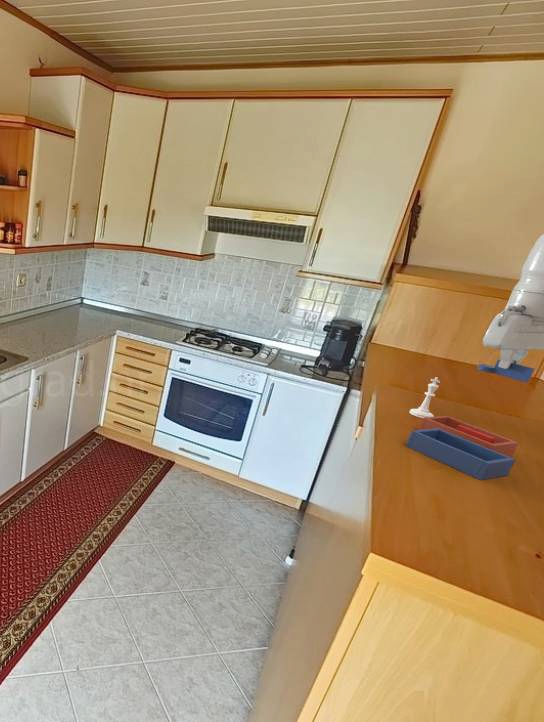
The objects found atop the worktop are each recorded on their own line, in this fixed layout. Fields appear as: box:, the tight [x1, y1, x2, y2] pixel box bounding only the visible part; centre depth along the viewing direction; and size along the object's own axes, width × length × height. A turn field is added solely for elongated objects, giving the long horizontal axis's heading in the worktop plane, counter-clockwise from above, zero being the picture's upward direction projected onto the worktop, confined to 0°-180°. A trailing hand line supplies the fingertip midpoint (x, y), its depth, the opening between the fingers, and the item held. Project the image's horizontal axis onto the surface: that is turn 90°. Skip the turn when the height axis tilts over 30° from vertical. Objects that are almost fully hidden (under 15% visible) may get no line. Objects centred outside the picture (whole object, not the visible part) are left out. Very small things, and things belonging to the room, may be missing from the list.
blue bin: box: [405, 428, 516, 481], centre depth 96 cm, size 14×9×4 cm, turn 21°
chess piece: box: [408, 376, 441, 419], centre depth 119 cm, size 5×5×10 cm
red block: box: [456, 425, 495, 444], centre depth 105 cm, size 9×3×3 cm, turn 21°
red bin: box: [417, 415, 519, 458], centre depth 105 cm, size 14×9×4 cm, turn 21°
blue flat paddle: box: [476, 359, 536, 383], centre depth 109 cm, size 9×3×3 cm, turn 20°
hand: (507, 367), depth 109 cm, fingers closed on blue flat paddle
